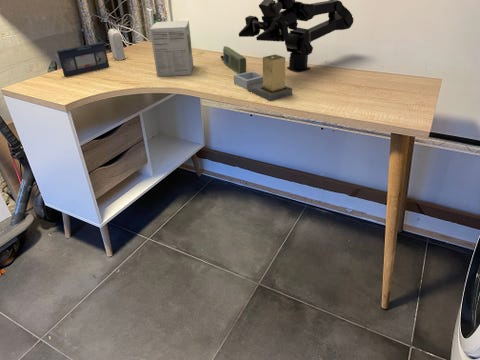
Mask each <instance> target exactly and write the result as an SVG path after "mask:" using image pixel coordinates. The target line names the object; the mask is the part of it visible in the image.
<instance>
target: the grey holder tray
mask: <svg viewBox="0 0 480 360" xmlns="http://www.w3.org/2000/svg"><path fill="white" fill-rule="evenodd" d="M247 92H249V93H251V92H252V93H251V94H253V93H254V94H253V95H255V94H256V95H255V96H258V97H260V98H261V99H265V100H266V99H267V100H266V101H268V102H271V101H275V100H278V99H282V98H285V97H289V96H292V95H293V88H292V87H289V86H287V85H285V89H284V90H282V91H278V92H275V93H270V92H268V91H265V90H263V82H259V83H255V84H251V85H248V89H247Z"/></svg>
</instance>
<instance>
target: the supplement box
mask: <svg viewBox="0 0 480 360" xmlns="http://www.w3.org/2000/svg"><path fill="white" fill-rule="evenodd" d="M149 33H150V39H151V40H150V41H151V44H152V53H153V57H154V64H155V65H154V66H155V70H156V76H157V77H168V76H169V77H170V76H190V75H191V73H192V70H193V68H194V58H193V57H194V56H193V50H192V49H193V48H192V38H191V30H190V20H175V21H173V20H171V21H156V22H155V23H154V24H152V26H151V27H150V28H149Z"/></svg>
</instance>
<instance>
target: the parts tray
mask: <svg viewBox="0 0 480 360" xmlns="http://www.w3.org/2000/svg"><path fill="white" fill-rule="evenodd" d="M259 82H263V74H261V73H259V72H256V71H254V70H250V71H246V73H242V74H238V73H236V74H234V75H233V83H235V84H234V85H236V84H237V85H236V86H238V85H239V86H238V87H240V86H241V87H240V88H242V87H243V88H242V89H245V90H248V85H251V84H255V83H259Z"/></svg>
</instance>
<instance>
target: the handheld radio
mask: <svg viewBox="0 0 480 360" xmlns="http://www.w3.org/2000/svg"><path fill="white" fill-rule="evenodd" d="M222 51H223V54H222V55H220V59H222V61H223V64H224V63H225V64H224V65H225V66H227V67H228V66H229V67H228V68H230V69H231V70H232V69H233V70H232V71H234V72H235V73H236V72H237V73H236V74H242V73H246V72H247V59H246V57H245V56H243V55H241V54H240V53H238V52H237V51H235V50H234V49H232V48H231V47H229V46H227V45H226V46H225V45H224V46H223V48H222Z"/></svg>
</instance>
